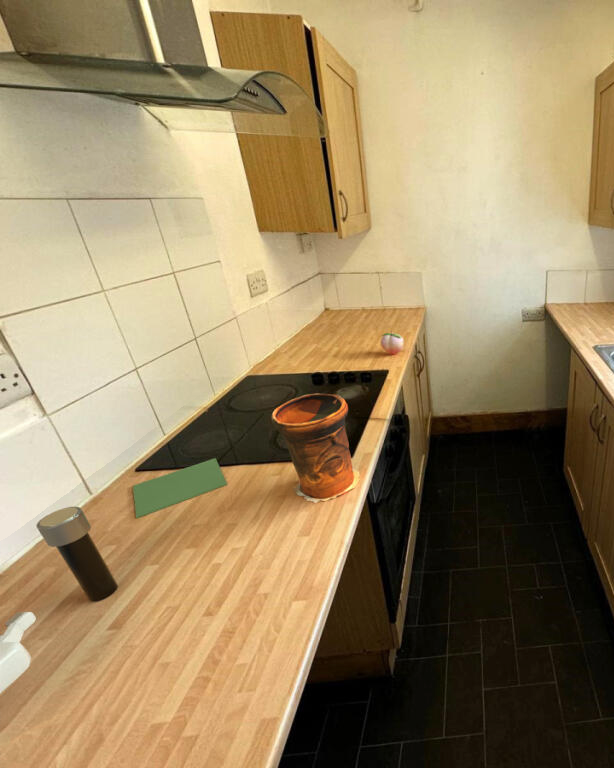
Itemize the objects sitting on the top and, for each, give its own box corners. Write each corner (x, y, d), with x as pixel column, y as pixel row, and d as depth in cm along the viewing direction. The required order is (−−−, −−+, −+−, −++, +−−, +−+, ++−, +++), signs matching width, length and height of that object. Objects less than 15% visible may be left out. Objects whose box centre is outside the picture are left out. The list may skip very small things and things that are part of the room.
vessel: (312, 516, 85) (289, 431, 76) (282, 487, 93) (258, 408, 85) (374, 482, 95) (359, 404, 86) (342, 459, 103) (326, 386, 95)
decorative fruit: (408, 351, 175) (406, 328, 171) (401, 358, 168) (398, 334, 164) (387, 350, 177) (384, 327, 173) (379, 357, 169) (375, 333, 165)
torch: (83, 610, 66) (33, 533, 59) (84, 591, 69) (37, 515, 62) (123, 593, 69) (80, 517, 62) (122, 575, 72) (81, 501, 65)
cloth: (136, 518, 85) (136, 517, 85) (133, 486, 94) (132, 485, 94) (227, 484, 94) (226, 483, 94) (216, 458, 104) (215, 457, 104)
